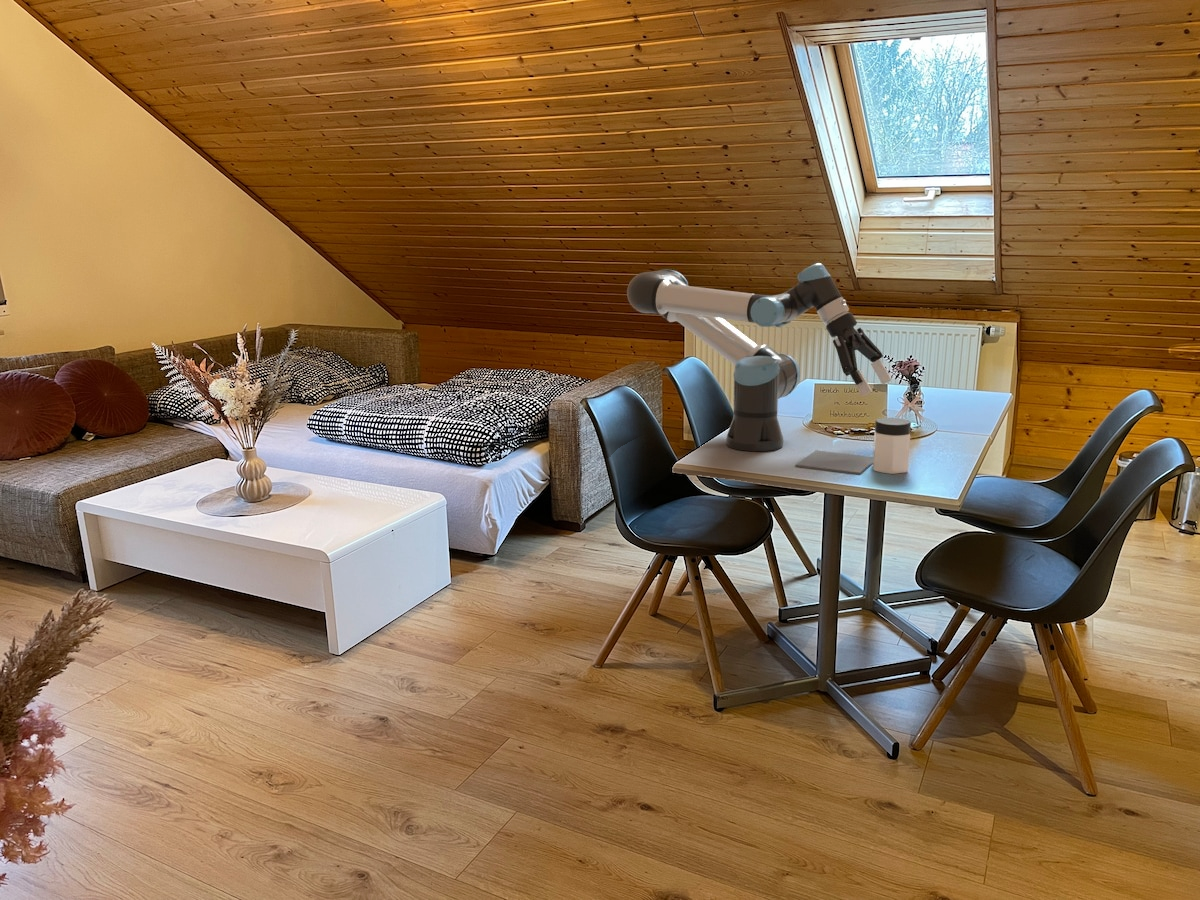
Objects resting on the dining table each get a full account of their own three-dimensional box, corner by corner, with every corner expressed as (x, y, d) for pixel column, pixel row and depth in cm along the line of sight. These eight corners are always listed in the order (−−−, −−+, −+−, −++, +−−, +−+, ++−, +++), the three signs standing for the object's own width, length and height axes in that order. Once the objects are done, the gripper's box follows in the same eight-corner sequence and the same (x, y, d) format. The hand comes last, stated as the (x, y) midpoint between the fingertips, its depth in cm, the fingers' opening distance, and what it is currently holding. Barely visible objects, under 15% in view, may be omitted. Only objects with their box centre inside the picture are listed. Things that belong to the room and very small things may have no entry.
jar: (914, 469, 218) (918, 420, 215) (900, 476, 212) (903, 426, 209) (880, 462, 224) (883, 415, 221) (864, 469, 218) (867, 421, 215)
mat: (795, 466, 222) (795, 464, 222) (815, 452, 235) (815, 450, 235) (860, 474, 214) (860, 472, 213) (877, 459, 227) (877, 457, 227)
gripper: (828, 319, 226) (871, 392, 224) (867, 303, 244) (907, 371, 243) (805, 333, 231) (846, 405, 229) (845, 317, 249) (883, 383, 248)
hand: (877, 388), depth 236 cm, fingers open, 13 cm apart
